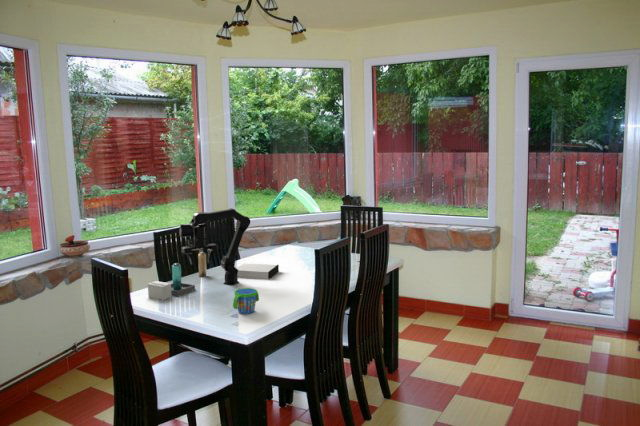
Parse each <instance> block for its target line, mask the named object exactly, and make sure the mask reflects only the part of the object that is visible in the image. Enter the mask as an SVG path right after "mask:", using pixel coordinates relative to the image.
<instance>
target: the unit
mask: <svg viewBox="0 0 640 426" xmlns="http://www.w3.org/2000/svg"><path fill="white" fill-rule="evenodd" d="M171 284H172V283H170V282H165V281H164V282H163V281H158V280H155V281H152V282H150V283H147V291H148V292H147V294H148V298H151V299H156V300H157V299H158V300H162V301H164V300H166V299H169V298H171V297H172V296H173V295H171Z"/></svg>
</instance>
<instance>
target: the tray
mask: <svg viewBox="0 0 640 426" xmlns="http://www.w3.org/2000/svg"><path fill="white" fill-rule="evenodd" d="M181 288H182V289H181V290H173V282H172V283H171V295H172V296H174V297H180V296H184V295H185V294H188V293H191V292H193V291H196V285H195V284H191V283H184V282H181Z"/></svg>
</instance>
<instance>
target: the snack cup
mask: <svg viewBox="0 0 640 426" xmlns="http://www.w3.org/2000/svg"><path fill="white" fill-rule="evenodd" d="M233 294H234V297H233V303H232V308H233V310H237V311H238V313H239V314H241V315H249V314H252V313H254V312H255V310H256V309H255V308H256V302H259V301H260V297H259V292H258V290H257V289H255V288H252V287H251V288H250V287H245V288H238V289H235V290H234V292H233Z"/></svg>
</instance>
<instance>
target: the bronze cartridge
mask: <svg viewBox="0 0 640 426" xmlns="http://www.w3.org/2000/svg"><path fill="white" fill-rule="evenodd" d="M197 258H198V259H197V260H198V277H201V278H202V277H207V253H205V252H204V251H203V252H199V253H198V257H197Z"/></svg>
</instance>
